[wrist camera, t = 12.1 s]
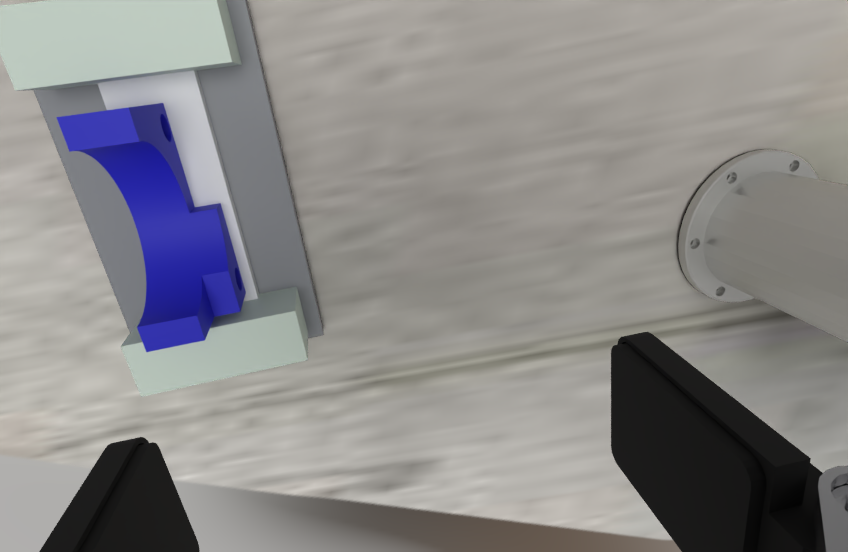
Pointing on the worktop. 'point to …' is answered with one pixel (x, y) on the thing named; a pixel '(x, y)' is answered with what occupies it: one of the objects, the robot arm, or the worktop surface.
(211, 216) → the cable clip
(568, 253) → the worktop surface
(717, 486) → the robot arm
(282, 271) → the board
